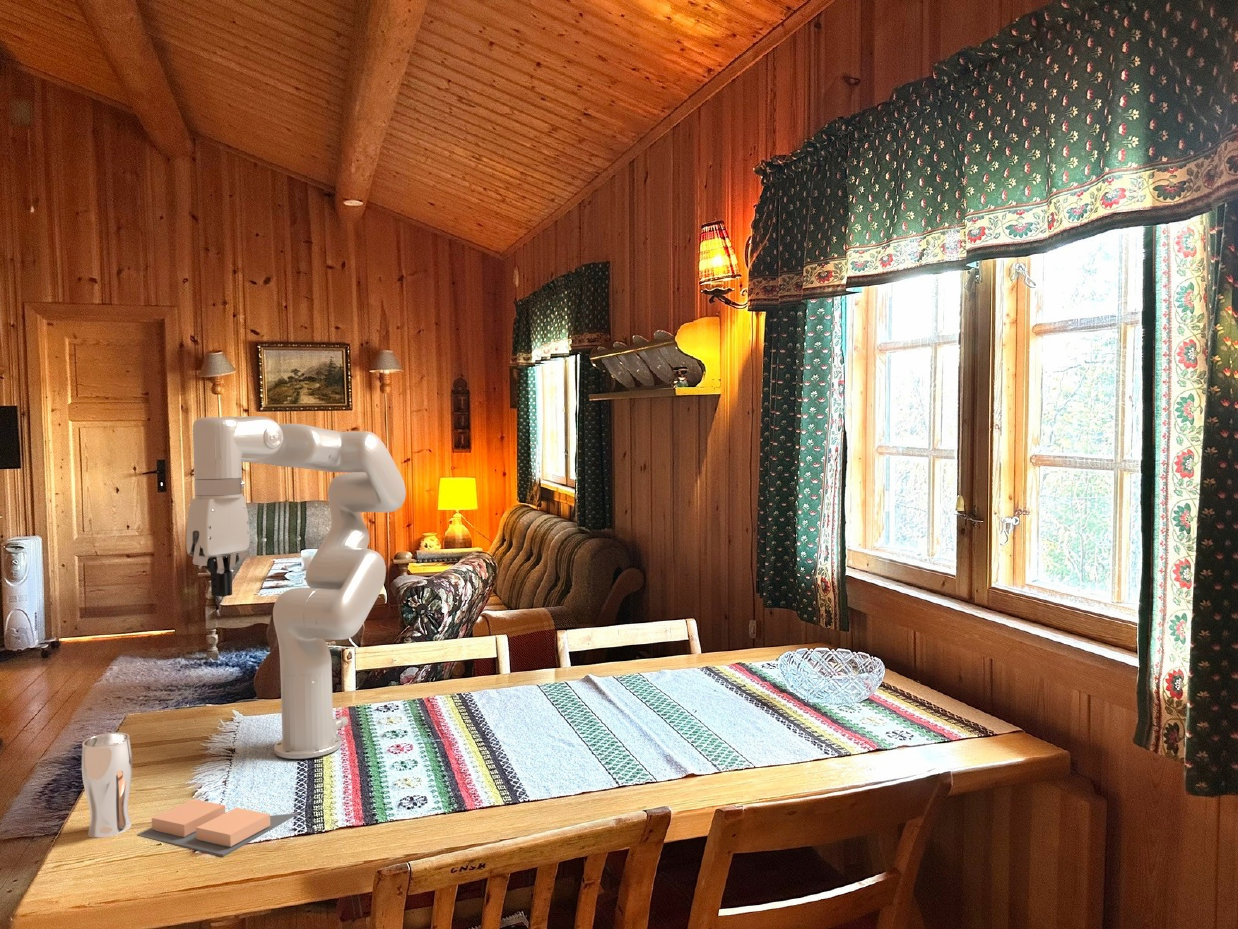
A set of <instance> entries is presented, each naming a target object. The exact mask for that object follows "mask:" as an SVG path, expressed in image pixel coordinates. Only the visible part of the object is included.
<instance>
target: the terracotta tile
mask: <svg viewBox="0 0 1238 929" xmlns="http://www.w3.org/2000/svg"><path fill="white" fill-rule="evenodd" d="M225 813H226V805H225V804H220V803H215V802H210V801H205V800H199V799H196V798H193V799H190V800H188V801H186V802H184V803H182V804H181V803H180V804H179V805H177V806H174V807H173V808H170V809H168V810H166V811H163V812H162V813H160V814H157V815H154V816H152V817H151V828H152V829H154V830H155V831H159V832H164V833H168V834H173V835H177V836H182V837H186V836H188V835H190V834H192V833H194V832H196V827H198V826H200V825H202V824H204V823H206V822H208V821H210V820H212V819H214V818H216V817H219V816H221V815H223V814H225Z"/></svg>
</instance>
